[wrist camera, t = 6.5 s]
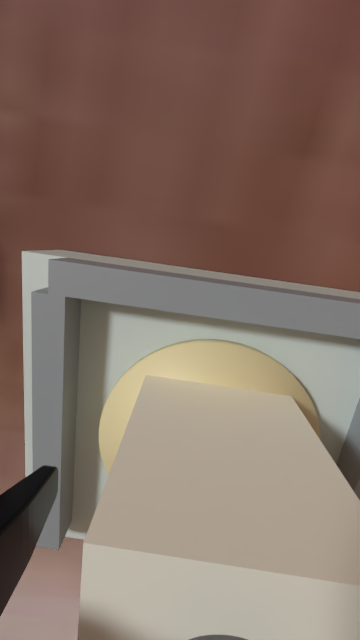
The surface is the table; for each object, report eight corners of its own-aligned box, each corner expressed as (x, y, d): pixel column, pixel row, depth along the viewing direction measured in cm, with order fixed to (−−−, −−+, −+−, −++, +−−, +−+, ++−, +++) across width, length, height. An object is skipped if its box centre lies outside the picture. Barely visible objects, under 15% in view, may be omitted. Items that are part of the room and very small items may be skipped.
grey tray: (316, 517, 15) (360, 615, 11) (57, 478, 15) (8, 560, 11) (393, 297, 11) (495, 322, 8) (61, 249, 12) (-5, 251, 8)
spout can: (246, 556, 11) (313, 946, 5) (127, 538, 11) (44, 900, 5) (291, 396, 9) (493, 706, 3) (145, 374, 9) (49, 635, 3)
